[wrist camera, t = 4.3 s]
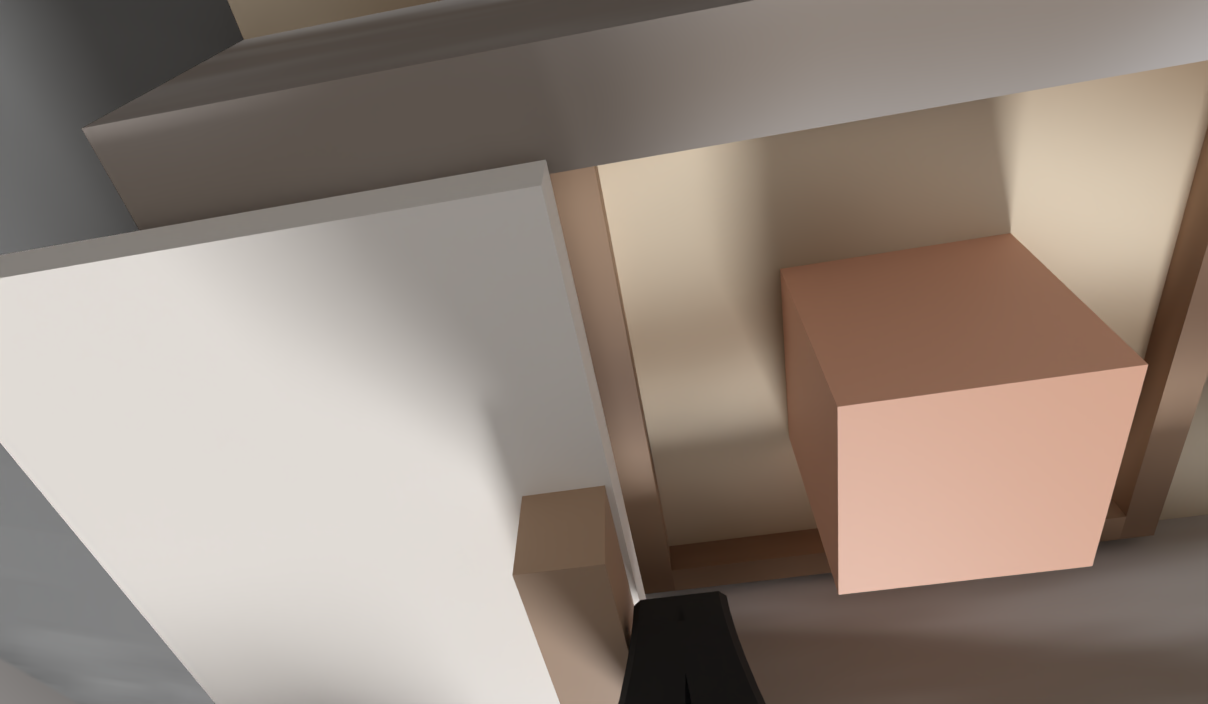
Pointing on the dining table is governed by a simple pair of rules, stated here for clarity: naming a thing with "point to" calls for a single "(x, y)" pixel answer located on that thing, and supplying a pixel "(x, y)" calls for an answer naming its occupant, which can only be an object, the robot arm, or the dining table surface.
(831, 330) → the terracotta block
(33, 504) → the dining table surface
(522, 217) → the sliding lid
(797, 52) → the beige wooden low frame
